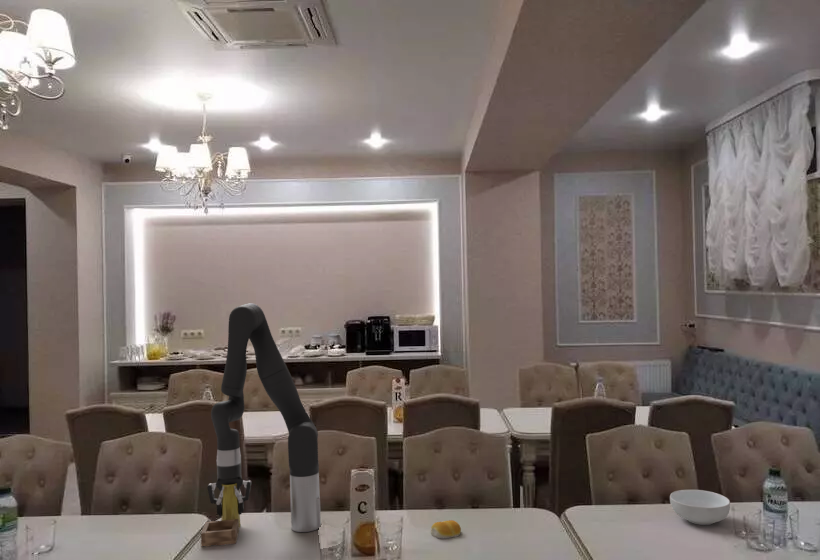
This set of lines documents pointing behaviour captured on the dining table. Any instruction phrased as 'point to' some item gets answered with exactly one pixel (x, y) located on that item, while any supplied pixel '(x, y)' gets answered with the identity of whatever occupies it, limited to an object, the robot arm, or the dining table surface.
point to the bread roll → (445, 529)
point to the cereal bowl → (700, 506)
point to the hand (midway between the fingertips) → (230, 514)
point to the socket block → (220, 532)
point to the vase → (230, 503)
